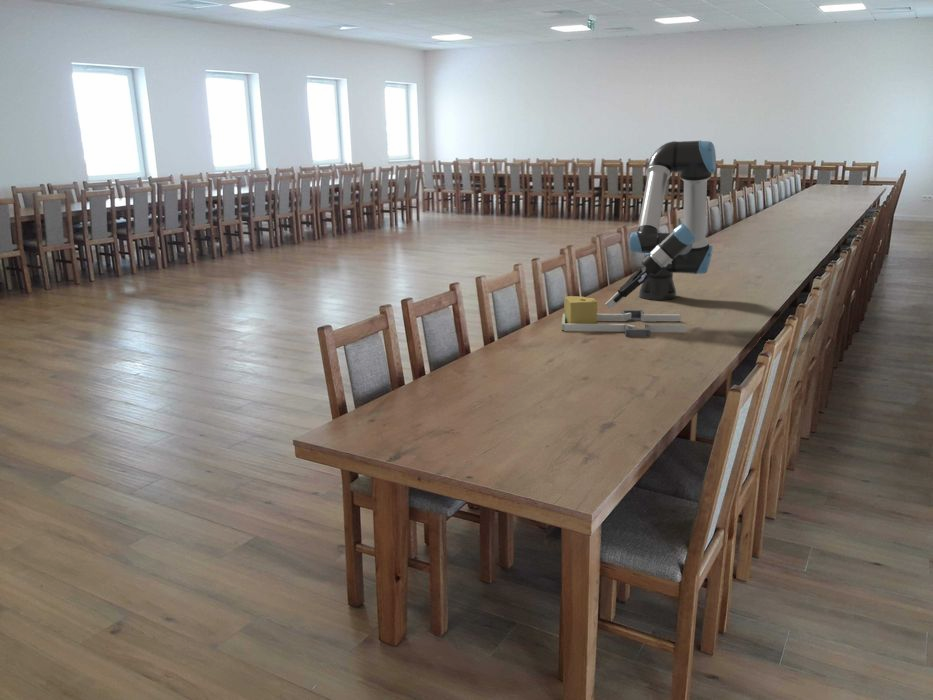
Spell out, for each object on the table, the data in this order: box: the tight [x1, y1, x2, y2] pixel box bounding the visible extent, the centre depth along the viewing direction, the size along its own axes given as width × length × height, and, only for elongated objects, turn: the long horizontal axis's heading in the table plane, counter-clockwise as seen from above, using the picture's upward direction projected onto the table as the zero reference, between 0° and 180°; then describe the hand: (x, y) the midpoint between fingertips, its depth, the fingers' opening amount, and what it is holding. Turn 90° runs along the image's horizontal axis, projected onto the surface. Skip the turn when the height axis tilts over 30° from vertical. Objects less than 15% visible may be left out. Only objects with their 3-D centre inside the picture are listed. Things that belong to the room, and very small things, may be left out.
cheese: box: [563, 295, 598, 324], centre depth 274 cm, size 10×11×10 cm
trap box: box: [561, 309, 687, 338], centre depth 273 cm, size 29×43×2 cm
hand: (607, 306), depth 274 cm, fingers closed
